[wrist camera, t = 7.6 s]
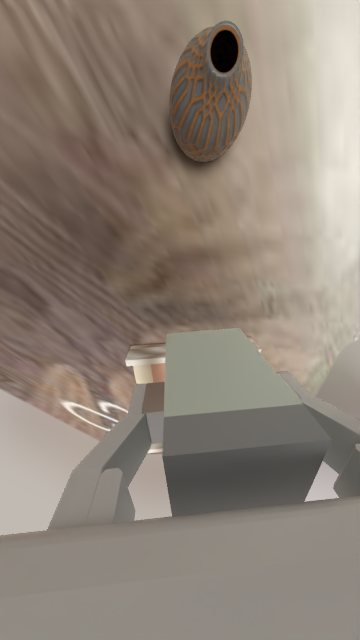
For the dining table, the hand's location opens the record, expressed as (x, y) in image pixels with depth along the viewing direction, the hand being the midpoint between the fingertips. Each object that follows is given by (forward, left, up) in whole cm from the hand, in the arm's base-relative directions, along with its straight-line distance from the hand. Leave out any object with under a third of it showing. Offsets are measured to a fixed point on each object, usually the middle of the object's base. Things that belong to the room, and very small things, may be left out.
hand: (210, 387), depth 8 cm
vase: (+3, +17, -19) cm, 26 cm away
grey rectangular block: (0, 0, -2) cm, 2 cm away
